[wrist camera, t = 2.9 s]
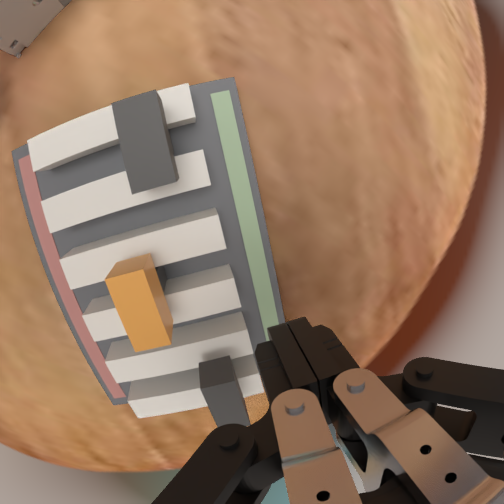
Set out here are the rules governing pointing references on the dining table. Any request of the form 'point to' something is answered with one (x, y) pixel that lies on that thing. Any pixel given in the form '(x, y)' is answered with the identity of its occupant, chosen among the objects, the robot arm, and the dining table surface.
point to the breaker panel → (159, 243)
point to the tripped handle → (141, 301)
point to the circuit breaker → (25, 21)
